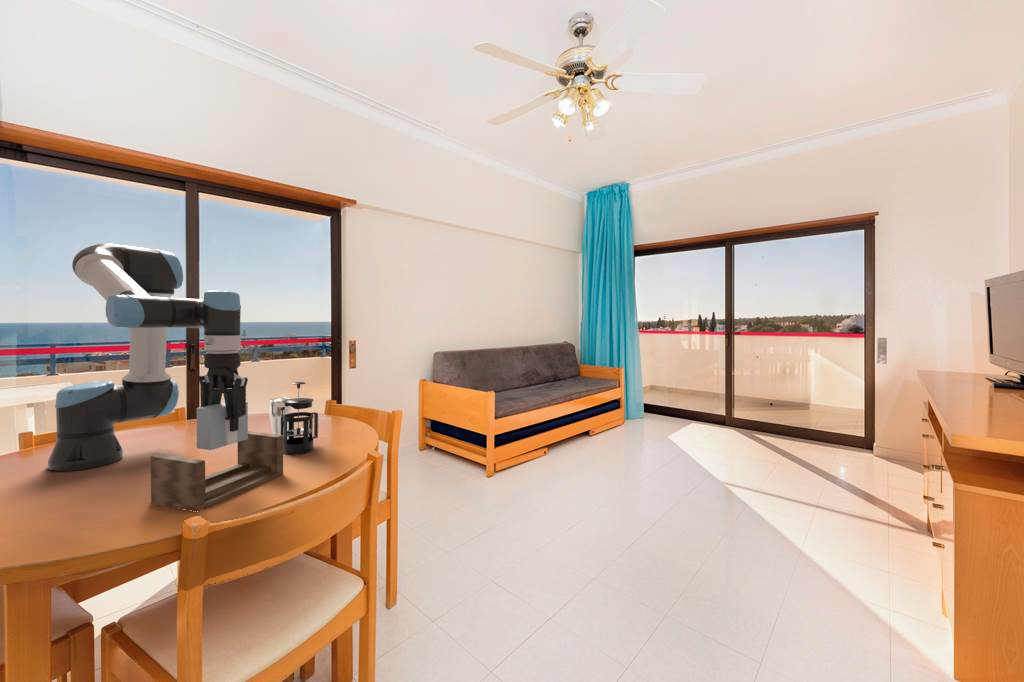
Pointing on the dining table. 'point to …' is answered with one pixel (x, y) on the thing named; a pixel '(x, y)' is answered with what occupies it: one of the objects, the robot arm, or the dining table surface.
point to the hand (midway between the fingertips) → (223, 442)
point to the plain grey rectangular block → (217, 426)
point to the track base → (215, 474)
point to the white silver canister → (278, 415)
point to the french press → (298, 443)
